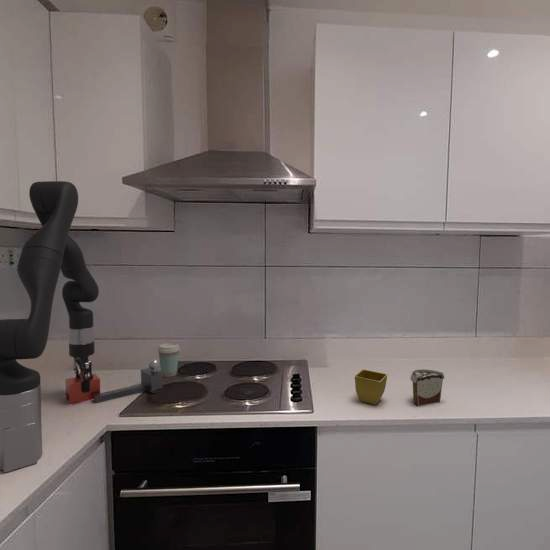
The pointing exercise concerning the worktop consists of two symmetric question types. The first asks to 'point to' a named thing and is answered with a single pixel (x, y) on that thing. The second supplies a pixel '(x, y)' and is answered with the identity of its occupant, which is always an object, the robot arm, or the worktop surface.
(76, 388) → the red box with knob
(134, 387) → the grey bar with block
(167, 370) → the coffee cup
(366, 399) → the flower pot
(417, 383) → the food container
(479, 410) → the worktop surface
